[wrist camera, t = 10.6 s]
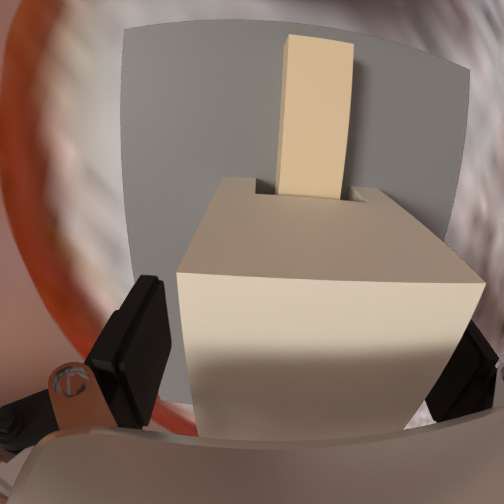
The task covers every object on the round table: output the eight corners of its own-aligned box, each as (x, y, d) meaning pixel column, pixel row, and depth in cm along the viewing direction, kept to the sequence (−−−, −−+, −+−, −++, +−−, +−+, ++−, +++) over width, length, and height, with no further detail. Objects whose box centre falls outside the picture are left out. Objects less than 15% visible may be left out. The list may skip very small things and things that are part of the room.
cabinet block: (378, 189, 11) (486, 283, 5) (338, 355, 15) (365, 473, 9) (223, 176, 11) (176, 272, 5) (223, 352, 15) (207, 477, 9)
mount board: (451, 71, 10) (495, 68, 7) (369, 389, 19) (380, 426, 16) (138, 36, 10) (103, 19, 7) (165, 383, 19) (154, 422, 16)
